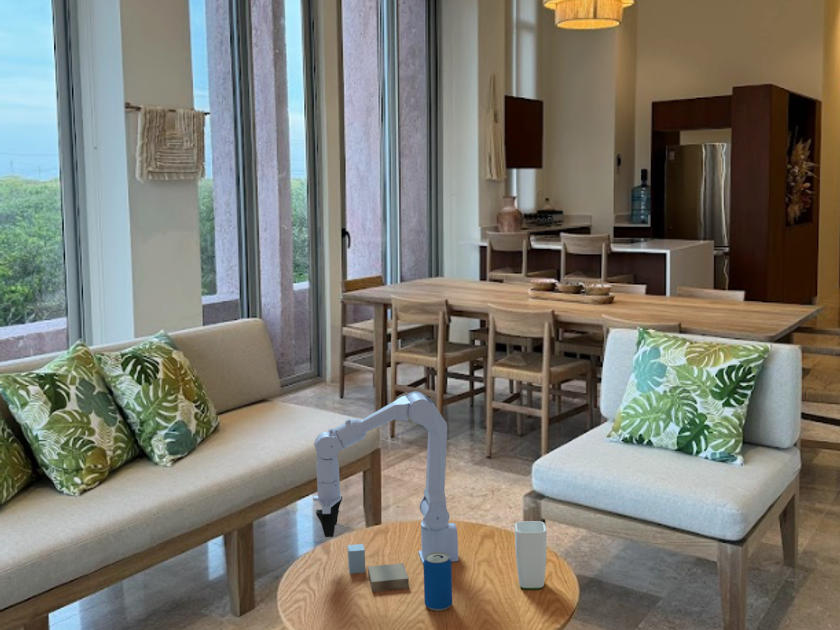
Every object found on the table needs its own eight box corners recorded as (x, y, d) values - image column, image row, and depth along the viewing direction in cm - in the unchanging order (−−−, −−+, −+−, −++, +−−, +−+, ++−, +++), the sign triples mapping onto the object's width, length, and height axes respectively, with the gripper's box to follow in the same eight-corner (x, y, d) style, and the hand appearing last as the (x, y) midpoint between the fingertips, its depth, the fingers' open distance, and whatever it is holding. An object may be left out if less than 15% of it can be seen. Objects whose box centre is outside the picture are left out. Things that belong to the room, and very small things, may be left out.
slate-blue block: (364, 565, 233) (363, 543, 232) (365, 572, 229) (364, 550, 228) (348, 567, 232) (347, 545, 232) (349, 573, 229) (348, 551, 228)
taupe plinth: (403, 574, 228) (403, 563, 228) (408, 590, 219) (408, 578, 219) (368, 577, 227) (368, 566, 226) (372, 593, 218) (371, 581, 218)
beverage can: (455, 601, 212) (454, 553, 210) (447, 614, 206) (446, 564, 204) (429, 598, 214) (428, 550, 212) (420, 610, 208) (419, 561, 206)
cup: (544, 578, 223) (544, 520, 220) (547, 591, 215) (547, 532, 213) (515, 578, 223) (514, 521, 221) (517, 591, 216) (516, 532, 214)
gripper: (316, 471, 236) (318, 520, 238) (308, 489, 222) (311, 542, 224) (342, 470, 236) (345, 519, 238) (337, 489, 222) (340, 541, 224)
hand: (330, 530), depth 231 cm, fingers open, 7 cm apart
